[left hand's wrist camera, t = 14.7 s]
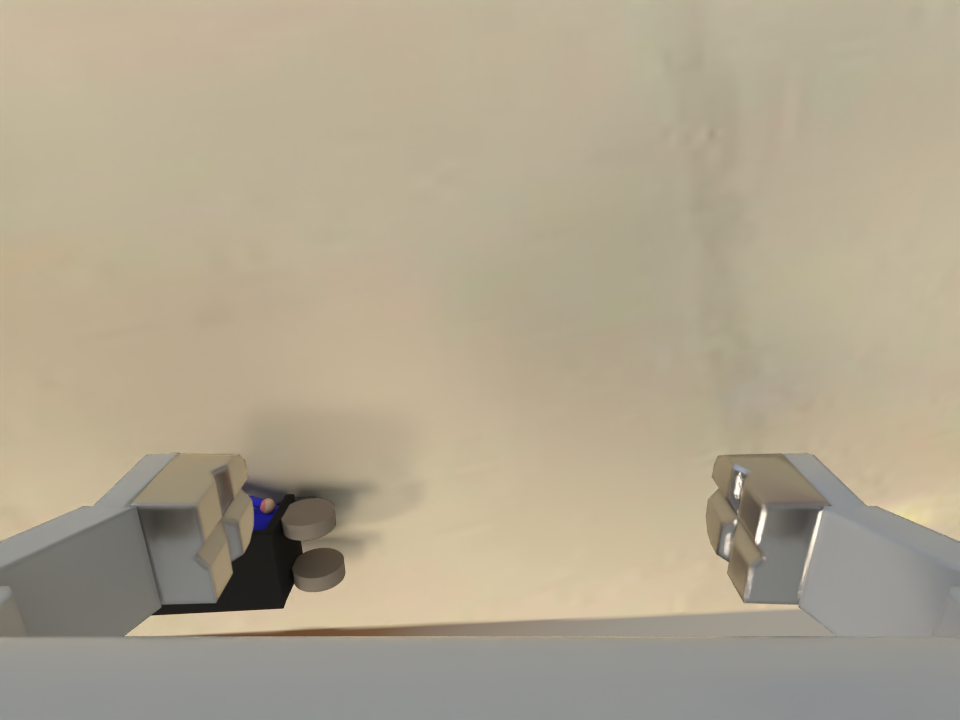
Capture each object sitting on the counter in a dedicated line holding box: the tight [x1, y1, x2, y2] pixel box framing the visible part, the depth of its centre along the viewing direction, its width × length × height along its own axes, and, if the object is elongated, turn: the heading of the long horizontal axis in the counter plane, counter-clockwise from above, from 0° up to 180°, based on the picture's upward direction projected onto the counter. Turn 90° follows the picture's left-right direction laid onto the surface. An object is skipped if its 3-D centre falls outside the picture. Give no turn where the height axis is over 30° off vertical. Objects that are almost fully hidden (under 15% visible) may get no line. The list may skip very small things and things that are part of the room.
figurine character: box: [152, 494, 345, 615], centre depth 42 cm, size 7×8×15 cm
